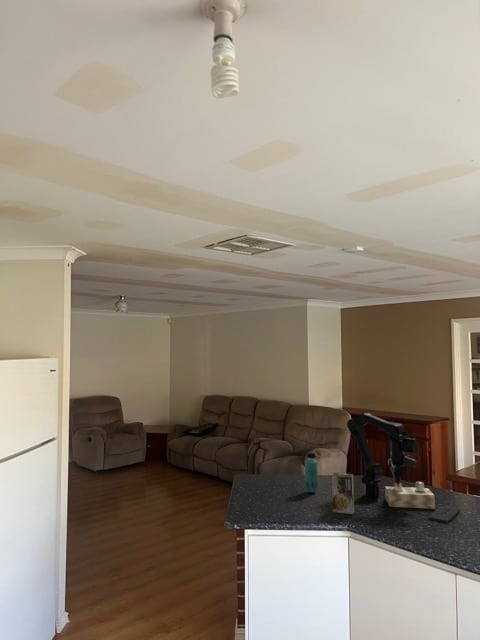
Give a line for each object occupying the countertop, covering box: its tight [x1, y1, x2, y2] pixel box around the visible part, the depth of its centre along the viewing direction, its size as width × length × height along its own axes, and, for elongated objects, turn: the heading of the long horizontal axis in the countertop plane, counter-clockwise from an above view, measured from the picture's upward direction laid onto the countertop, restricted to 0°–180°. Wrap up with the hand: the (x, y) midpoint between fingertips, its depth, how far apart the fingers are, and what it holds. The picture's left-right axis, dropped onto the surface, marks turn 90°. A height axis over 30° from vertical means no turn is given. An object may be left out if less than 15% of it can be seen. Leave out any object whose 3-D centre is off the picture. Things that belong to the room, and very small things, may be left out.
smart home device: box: [428, 505, 461, 524], centre depth 205 cm, size 8×2×20 cm
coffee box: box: [331, 472, 355, 515], centre depth 211 cm, size 9×6×16 cm
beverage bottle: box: [304, 452, 318, 492], centre depth 240 cm, size 6×7×20 cm
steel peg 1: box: [393, 482, 403, 492], centre depth 223 cm, size 4×4×6 cm
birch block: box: [384, 485, 436, 510], centre depth 222 cm, size 20×12×6 cm, turn 82°
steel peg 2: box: [415, 481, 425, 493], centre depth 222 cm, size 4×4×6 cm
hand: (397, 483), depth 223 cm, fingers closed, pressing on steel peg 1
